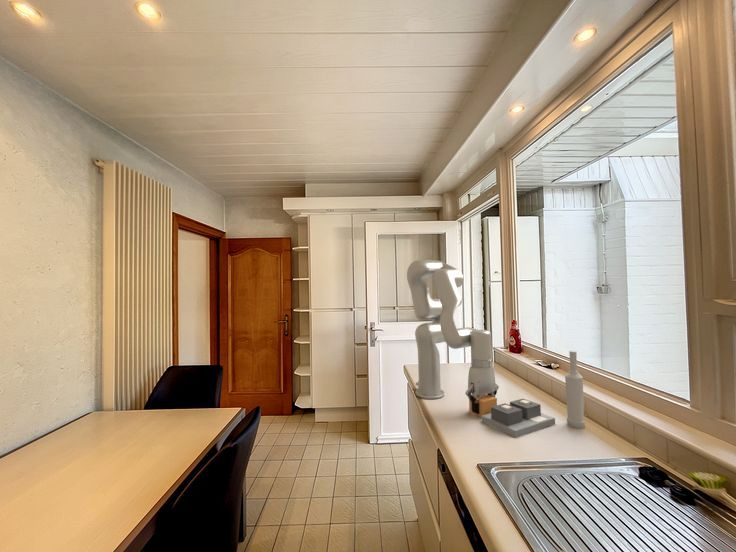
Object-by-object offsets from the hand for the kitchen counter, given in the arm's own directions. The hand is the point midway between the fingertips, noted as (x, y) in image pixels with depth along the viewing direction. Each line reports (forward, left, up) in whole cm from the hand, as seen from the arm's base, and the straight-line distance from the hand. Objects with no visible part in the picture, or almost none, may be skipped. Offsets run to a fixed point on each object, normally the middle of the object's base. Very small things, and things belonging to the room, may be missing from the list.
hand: (483, 410), depth 123 cm
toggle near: (+12, -2, +1) cm, 12 cm away
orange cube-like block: (0, 0, -1) cm, 1 cm away
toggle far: (+12, +8, +2) cm, 14 cm away
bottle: (+23, +19, -1) cm, 30 cm away
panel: (+12, +4, -1) cm, 13 cm away
